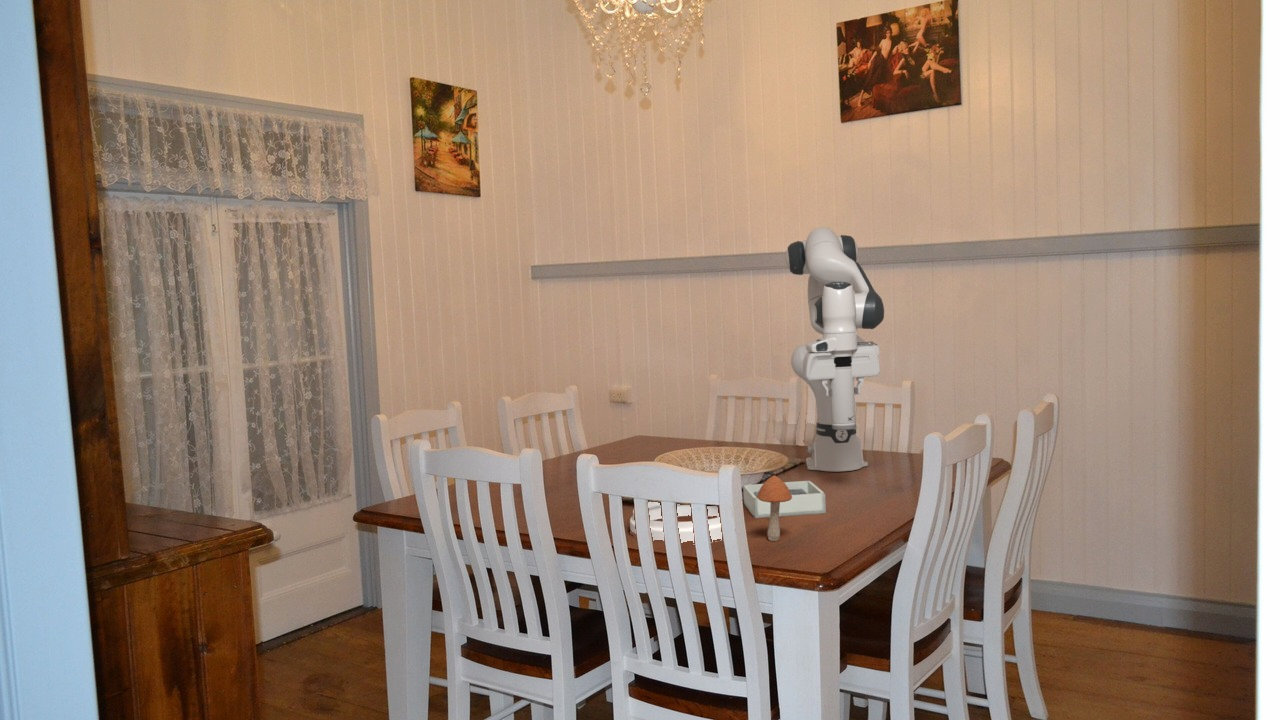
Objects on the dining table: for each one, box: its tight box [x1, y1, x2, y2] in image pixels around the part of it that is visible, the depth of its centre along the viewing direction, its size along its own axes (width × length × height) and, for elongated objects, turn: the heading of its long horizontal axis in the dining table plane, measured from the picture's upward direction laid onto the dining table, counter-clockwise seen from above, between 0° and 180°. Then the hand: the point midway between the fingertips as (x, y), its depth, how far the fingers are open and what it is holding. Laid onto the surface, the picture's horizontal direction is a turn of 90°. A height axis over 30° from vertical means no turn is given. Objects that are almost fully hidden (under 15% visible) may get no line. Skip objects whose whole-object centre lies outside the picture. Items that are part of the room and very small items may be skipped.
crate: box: [742, 480, 827, 519], centre depth 245 cm, size 16×18×5 cm
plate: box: [629, 501, 723, 543], centre depth 229 cm, size 27×27×6 cm
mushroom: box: [757, 474, 792, 542], centre depth 215 cm, size 8×8×15 cm
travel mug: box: [830, 356, 857, 430], centre depth 252 cm, size 6×7×20 cm
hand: (842, 395), depth 252 cm, fingers closed on travel mug, 6 cm apart
